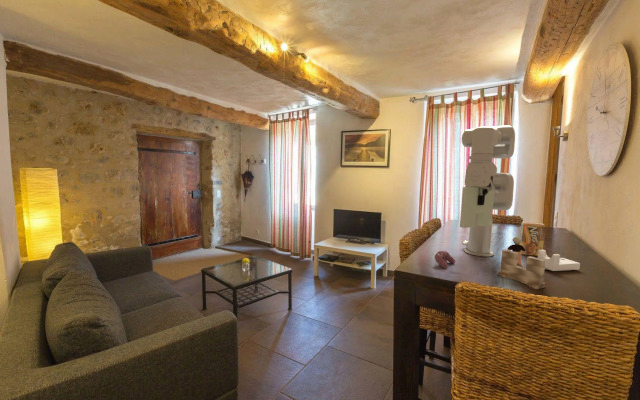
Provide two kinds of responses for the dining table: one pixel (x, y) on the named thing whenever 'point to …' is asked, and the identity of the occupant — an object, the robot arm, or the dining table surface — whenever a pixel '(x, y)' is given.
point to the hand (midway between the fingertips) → (477, 204)
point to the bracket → (557, 262)
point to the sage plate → (476, 207)
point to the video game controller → (443, 258)
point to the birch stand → (522, 269)
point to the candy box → (532, 237)
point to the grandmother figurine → (517, 248)
